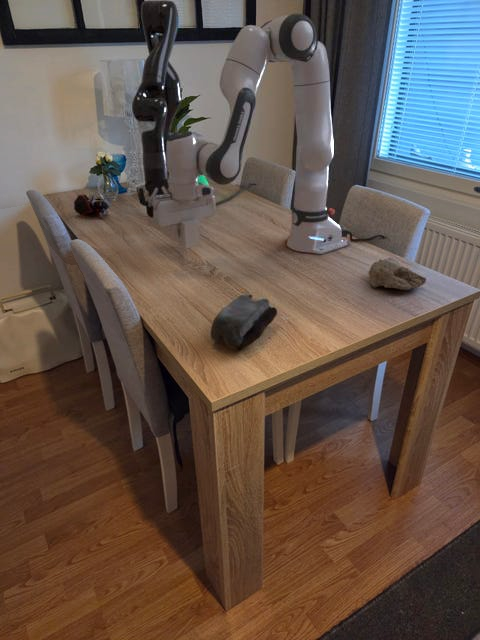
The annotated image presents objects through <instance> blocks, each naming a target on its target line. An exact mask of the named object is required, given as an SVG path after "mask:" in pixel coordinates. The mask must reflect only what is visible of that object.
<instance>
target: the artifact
mask: <svg viewBox="0 0 480 640" xmlns="http://www.w3.org/2000/svg"><path fill="white" fill-rule="evenodd" d="M368 276H369V279H368V280H369V284H370V285H371V286H372V288H374V289H376V288H379V287H384V288H386V289H387V288H388V289H393V288H394V289H398V290H404V291H405V290H406V291H409V290H411V289H413V288H415V289H416V288H417V289H418V288H419V287H421V286H423V285H425V283H426V282H427V278H426V277H425V276H423V275H420V274H418V273H416V272H414V271H413V270H411V269H409V268H408V267H405V266H403V265H401V263H400V262H398V261H397V260H396V259H394V258H393V257H388V258H385V259H379V260H378V261H374V262H373V263H372V264H371V266H370V268H369V271H368Z"/></svg>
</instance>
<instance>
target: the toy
mask: <svg viewBox="0 0 480 640" xmlns="http://www.w3.org/2000/svg"><path fill="white" fill-rule="evenodd" d="M95 197H96V195H95V194H90V196H87V195H86V194H78V195H77V197H76V198H75V199H74V201H73V209H74V211H75V212H76V213H77V214H78V215H80V216H82V217H88V218H93V219H99V220H100V219H101V220H102V219H103V218H102V216H101V214H102V215H103V216H107V215H108V214H109V210H108V209H109V207H110V205H111V203H110V202H109V201H108V200H107V199H106V198H100V197H98V198H95Z"/></svg>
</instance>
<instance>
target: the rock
mask: <svg viewBox="0 0 480 640" xmlns="http://www.w3.org/2000/svg"><path fill="white" fill-rule="evenodd" d="M277 315H278V309H277V308H276V307H274V306H271V305H270V300H269V299H268V298H261V299H258V300H253V295H252V294H248V295H247V294H246V295H245V294H241V295H239V296H238V297H237V298H235V299H234V300H232V301H231V302H229V304H227V305H226V306H225V307H223V308H222V309H221V310H220V311H219V312H218V314H217V315H216V316H215V318H214V319H213V322H212V325H211V327H210V328H211V329H210V338H211V339H212V340H213V341H214V342H216V343H221V342H224V344H225V345H226V346H227V347H228V348H230V349H231V350H235V351H236V352H241V351H242V350H243V349H245V348H246V347H248V346H249V345H251V344H253V343H255V341H257V340H258V339H259V338H260V337H261V336H262V335H263V333H264V331H265V329H266V328H267V327H268V326H269V325H270V324H272V322H273V321H274V319H275V318H276V317H277Z"/></svg>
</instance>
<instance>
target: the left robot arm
mask: <svg viewBox="0 0 480 640" xmlns="http://www.w3.org/2000/svg"><path fill="white" fill-rule="evenodd" d="M140 16H141V17H140V18H141V24H142V29H143V34H144V39H145V42H146V47H147V52H148V56H147V57H146V59H145V61H144V64H143V69H142V76H141V82H140V85H139V87H138V89H137V91H136V93H135V95H134V97H133V99H132V103H131V113H132V116H133V117H134V119H135V120H136V121H138V122H142V123H154V127H153V128H150V129H145V130H143V131H142V132H141V135H140V139H141V149H142V166H143V176H144V185H143V186H137V187H136V192H137V196H138V201H139V204H140V205H142V206H144V207H145V210H146V214H147V217H148V216H149V217H153V211H152V206H151V205H152V201H153V199H154V198H155V197H156V196H157V195H163V194H167V193H169V191H168V190H169V185H168V178H169V173H168V168H167V160H166V145H167V140H168V138H169V137H170V136H171V135H172V124H173V121H174V119H175V116H176V115H177V112H178V110H179V109H180V107H181V104H182V100H183V96H182V87H181V80H180V76H179V74H178V73H177V71H176V69H175V68H174V66H173V65H172V64H171V62H170V58H171V54H172V52H173V48H174V45H175V41H176V37H177V34H178V29H179V21H180V20H179V19H180V18H179V11H178V7H177V5H176V3H175V2H174V1H172V0H144V1H143V2H142V3H141V7H140ZM159 36H160V37H161V38H160V39H159ZM252 185H256V186H257V185H258V183H257V184H255V183H254V184H252V183H251V182H249V183H248V184H245V186H243V187H242V188H240V190H238V191H237V192H236V193H235V194H232V195H231V196H229V197H227V198H225V199H223V200H220V201H217V202H215V204H216V206H217V205H220V204H223V203H225V202H228V201H229V200H232V199H234V198H235V197H237V196H238V195H239V194H240V193H242V192H244V190H245V189H247V188H248V187H250V186H252ZM146 191H147V195H146V197H145V194H146Z"/></svg>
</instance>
